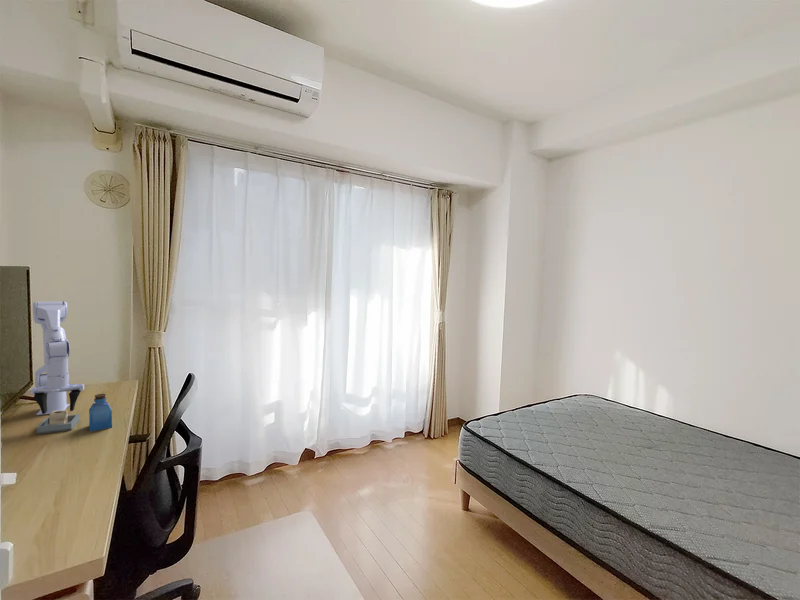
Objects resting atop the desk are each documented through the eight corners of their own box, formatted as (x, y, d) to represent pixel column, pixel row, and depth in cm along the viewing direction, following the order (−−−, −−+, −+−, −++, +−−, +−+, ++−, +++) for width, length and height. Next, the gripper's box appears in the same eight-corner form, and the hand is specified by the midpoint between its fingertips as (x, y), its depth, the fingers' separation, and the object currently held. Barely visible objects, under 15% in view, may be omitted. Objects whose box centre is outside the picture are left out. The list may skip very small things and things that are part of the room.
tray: (46, 424, 139) (46, 417, 139) (79, 420, 144) (79, 414, 143) (36, 434, 131) (36, 427, 131) (71, 430, 135) (71, 423, 135)
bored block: (53, 424, 138) (53, 410, 138) (67, 422, 140) (67, 409, 140) (49, 428, 135) (49, 414, 134) (64, 426, 136) (63, 413, 136)
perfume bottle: (90, 431, 135) (89, 399, 134) (89, 425, 140) (88, 394, 139) (111, 427, 139) (111, 395, 138) (110, 422, 144) (110, 391, 143)
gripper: (26, 379, 129) (27, 418, 130) (80, 376, 136) (80, 412, 137) (34, 374, 135) (35, 411, 136) (85, 371, 142) (86, 406, 143)
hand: (58, 411), depth 137 cm, fingers open, 7 cm apart
